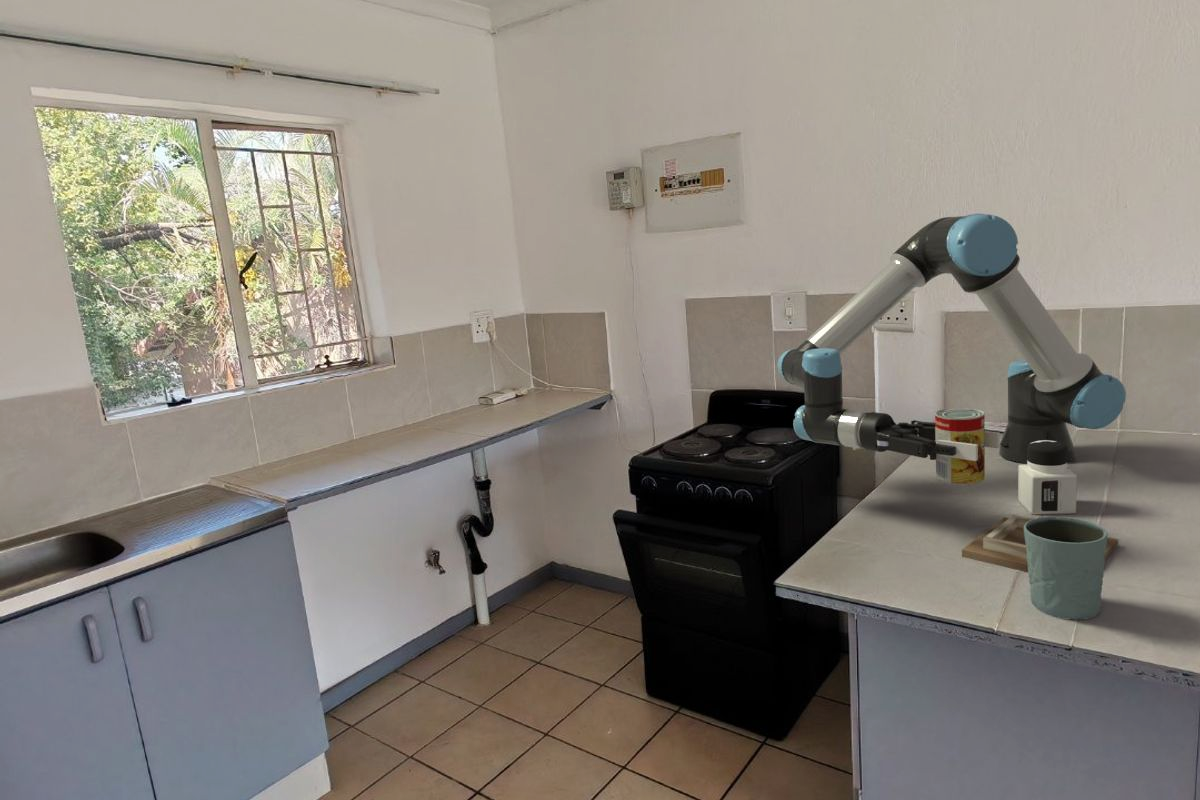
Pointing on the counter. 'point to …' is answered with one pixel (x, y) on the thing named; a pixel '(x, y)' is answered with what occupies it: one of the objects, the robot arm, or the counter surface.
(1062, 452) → the container
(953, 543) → the counter surface
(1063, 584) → the green plant pot
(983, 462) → the canned food
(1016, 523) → the collar board
